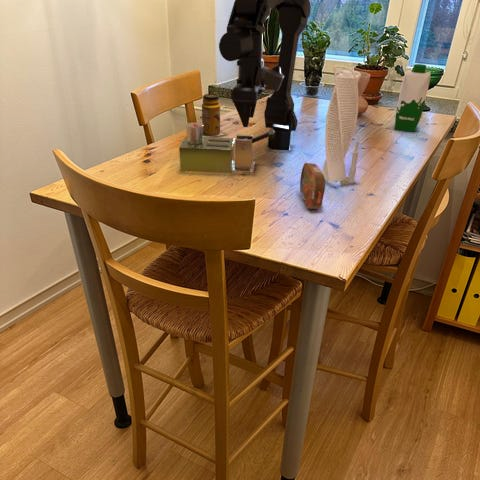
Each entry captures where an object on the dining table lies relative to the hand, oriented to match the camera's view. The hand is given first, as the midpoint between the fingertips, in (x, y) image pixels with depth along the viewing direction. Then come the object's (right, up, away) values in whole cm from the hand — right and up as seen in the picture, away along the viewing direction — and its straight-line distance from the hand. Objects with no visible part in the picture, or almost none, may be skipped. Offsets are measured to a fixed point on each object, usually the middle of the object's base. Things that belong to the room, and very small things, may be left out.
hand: (248, 122), depth 123 cm
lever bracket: (-1, -10, +8) cm, 13 cm away
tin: (+15, -24, -9) cm, 29 cm away
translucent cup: (-15, -4, +4) cm, 16 cm away
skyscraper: (+23, -15, +3) cm, 28 cm away
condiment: (-13, +10, +34) cm, 38 cm away
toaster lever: (+3, -5, +3) cm, 6 cm away
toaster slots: (-8, -4, +4) cm, 10 cm away
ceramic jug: (+40, +28, +58) cm, 76 cm away
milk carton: (+57, +16, +44) cm, 74 cm away
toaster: (-11, -9, +8) cm, 17 cm away
